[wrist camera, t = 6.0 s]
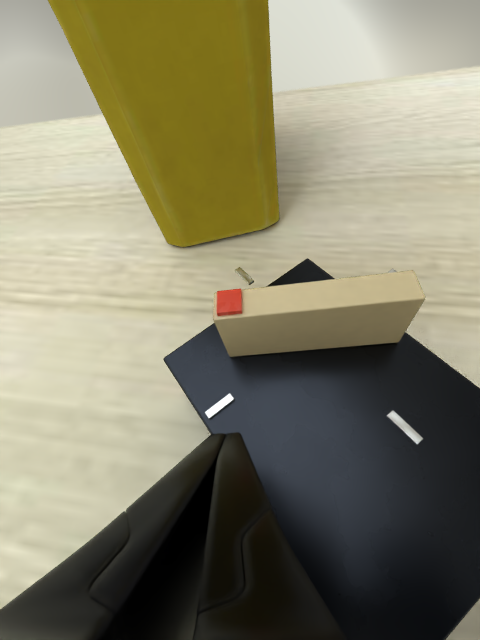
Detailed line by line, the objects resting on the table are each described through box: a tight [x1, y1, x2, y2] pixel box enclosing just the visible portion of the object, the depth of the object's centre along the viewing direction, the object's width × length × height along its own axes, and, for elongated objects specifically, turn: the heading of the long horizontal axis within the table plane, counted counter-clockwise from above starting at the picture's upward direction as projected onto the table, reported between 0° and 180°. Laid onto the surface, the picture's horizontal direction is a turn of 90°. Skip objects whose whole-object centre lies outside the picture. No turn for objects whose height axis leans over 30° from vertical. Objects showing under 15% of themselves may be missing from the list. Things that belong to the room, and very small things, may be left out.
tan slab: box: [213, 270, 425, 357], centre depth 13 cm, size 8×1×4 cm, turn 91°
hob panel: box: [164, 259, 480, 640], centre depth 16 cm, size 16×12×5 cm
